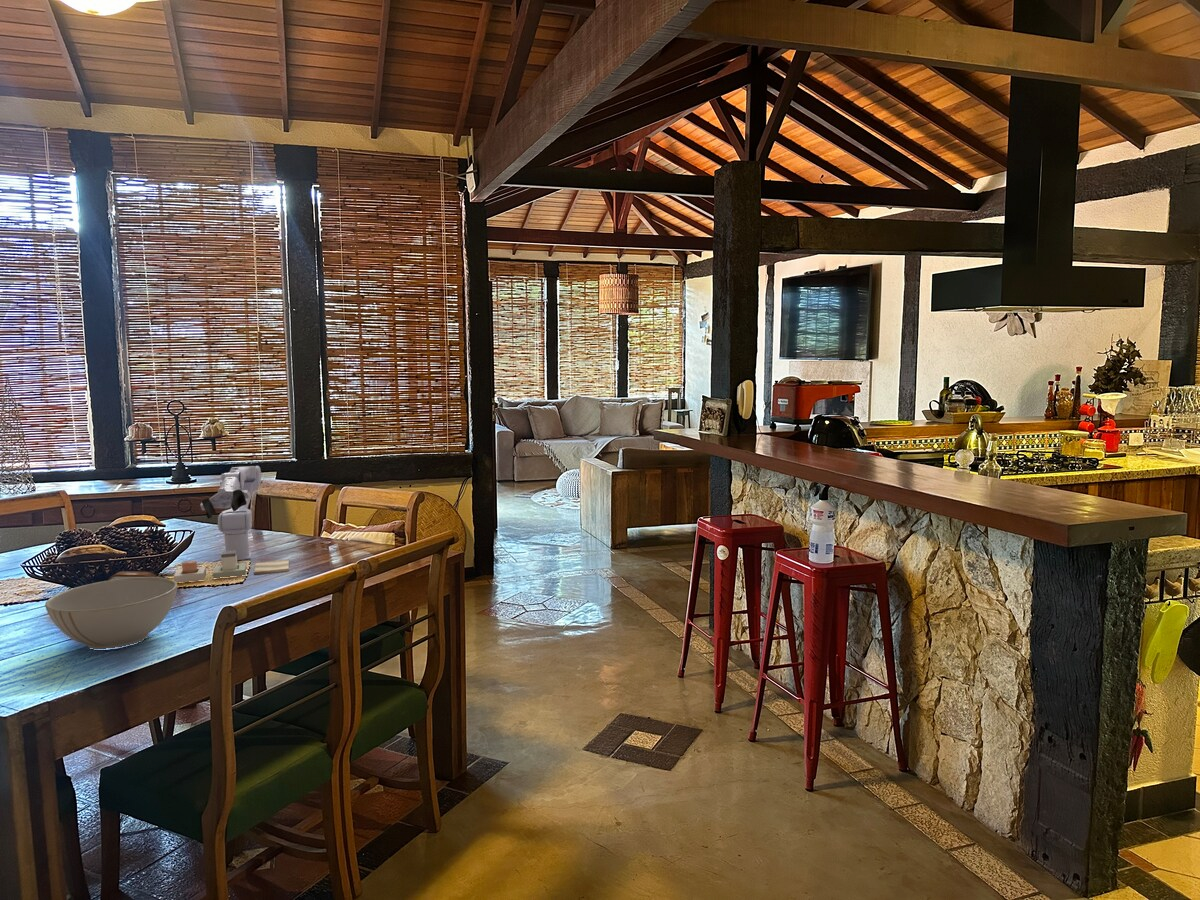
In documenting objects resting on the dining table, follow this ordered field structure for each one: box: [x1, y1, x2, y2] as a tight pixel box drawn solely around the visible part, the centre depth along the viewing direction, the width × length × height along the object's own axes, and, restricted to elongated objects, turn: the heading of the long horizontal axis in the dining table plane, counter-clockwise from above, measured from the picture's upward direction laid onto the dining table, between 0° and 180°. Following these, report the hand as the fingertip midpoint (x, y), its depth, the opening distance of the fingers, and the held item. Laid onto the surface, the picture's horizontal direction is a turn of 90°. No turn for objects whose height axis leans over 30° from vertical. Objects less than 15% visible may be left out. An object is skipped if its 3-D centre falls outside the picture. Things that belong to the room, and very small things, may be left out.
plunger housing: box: [173, 566, 207, 583], centre depth 242 cm, size 8×8×2 cm
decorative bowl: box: [44, 576, 178, 649], centre depth 189 cm, size 27×27×12 cm
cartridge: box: [220, 550, 238, 571], centre depth 247 cm, size 4×4×7 cm
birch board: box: [253, 559, 290, 576], centre depth 253 cm, size 12×10×1 cm
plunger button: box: [181, 560, 198, 574], centre depth 242 cm, size 4×4×3 cm
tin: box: [107, 570, 158, 581], centre depth 221 cm, size 15×3×8 cm, turn 84°
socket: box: [212, 562, 248, 579], centre depth 247 cm, size 9×9×2 cm
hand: (220, 512), depth 244 cm, fingers open, 7 cm apart
